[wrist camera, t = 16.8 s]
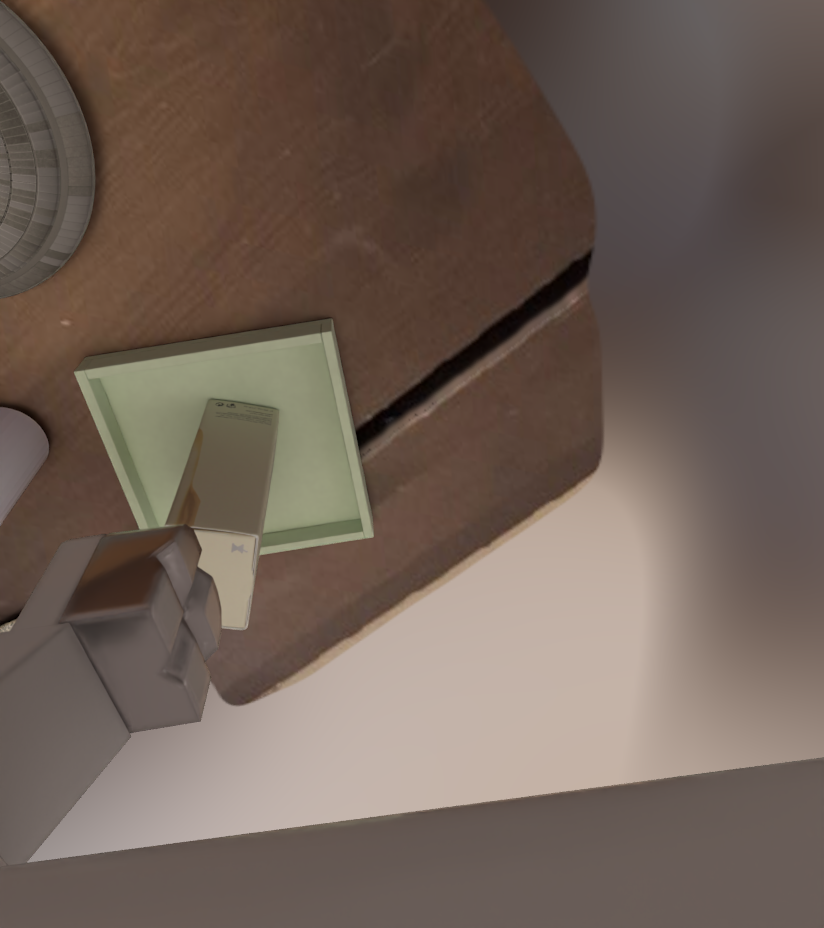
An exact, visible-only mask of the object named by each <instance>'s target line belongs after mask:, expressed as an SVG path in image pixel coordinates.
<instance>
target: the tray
mask: <svg viewBox="0 0 824 928" xmlns="http://www.w3.org/2000/svg"><path fill="white" fill-rule="evenodd" d="M74 374H75V376H76V379H77V381H78V383H79V386H80V388H81V391H82V393H83V395H84V398H85V400H86V403H87V405H88V407H89V410H90V412H91V415H92V417H93V419H94V422H95V424H96V426H97V429H98V431H99V434H100V436H101V438H102V441H103V443H104V446H105V448H106V450H107V453H108V455H109V457H110V460H111V462H112V465H113V467H114V469H115V472H116V474H117V477H118V479H119V481H120V484H121V486H122V488H123V491H124V493H125V496H126V498H127V500H128V503H129V505H130V508H131V510H132V512H133V515H134V517H135V520H136V522H137V524H138V527H139V529H148V528H156V527H164V525H165V523H166V520H167V518H168V515H169V512H170V509H171V506H172V503H173V501H174V498H175V495H176V492H177V489H178V486H179V484H180V481H181V478H182V475H183V472H184V469H185V466H186V463H187V460H188V457H189V454H190V451H191V448H192V446H193V443H194V440H195V437H196V434H197V431H198V428H199V425H200V422H201V419H202V416H203V413H204V410H205V408H206V405H207V402H208V400H220V401H229V402H236V403H242V404H249V405H255V406H260V407H266V408H271V409H277V410H279V423H278V434H277V443H276V451H275V459H274V465H273V473H272V478H271V485H270V491H269V498H268V504H267V510H266V516H265V523H264V529H263V535H262V541H261V548H260V554H259V555H263V554H269V553H275V552H282V551H288V550H295V549H301V548H307V547H314V546H320V545H327V544H333V543H339V542H346V541H352V540H359V539H364V538H372V537H374V532H373V517H372V512H371V507H370V502H369V497H368V492H367V487H366V483H365V478H364V473H363V468H362V463H361V458H360V453H359V448H358V443H357V438H356V433H355V428H354V423H353V418H352V414H351V409H350V404H349V399H348V394H347V389H346V384H345V379H344V374H343V369H342V364H341V359H340V354H339V349H338V344H337V340H336V335H335V330H334V325H333V320H332V319H331V318H330V319H324V320H318V321H311V322H305V323H299V324H292V325H286V326H280V327H273V328H267V329H261V330H254V331H248V332H242V333H235V334H229V335H223V336H216V337H210V338H204V339H197V340H191V341H185V342H178V343H172V344H165V345H159V346H153V347H146V348H140V349H134V350H127V351H121V352H115V353H108V354H102V355H96V356H89V357H85V358H84V360H83V361H82V362H81V363H80V365H79V366H78V367H77V368H76V370H75V371H74Z"/></svg>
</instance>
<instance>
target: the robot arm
mask: <svg viewBox="0 0 824 928" xmlns="http://www.w3.org/2000/svg"><path fill="white" fill-rule="evenodd" d="M201 552H202V548H201V546H200V543H199V541H198V538H197V536H196V534H195V531H194V529H193V528H191V527H190V526H188V525H187V524H180V525H172V526H164V527H156V528H148V529H140V530H132V531H124V532H116V533H109V534H100V535H93V536H86V537H80V538H73V539H70V540H67V541H65V542H63V543H61V545H60V546H59V548H58V550H57V551H56V553H55V555H54V556H53V558H52V560H51V562H50V563H49V565H48V567H47V568H46V570H45V572H44V574H43V575H42V577H41V579H40V580H39V582H38V584H37V586H36V587H35V589H34V591H33V592H32V594H31V596H30V598H29V599H28V601H27V603H26V604H25V606H24V608H23V610H22V611H21V613H20V615H19V616H18V618H17V620H16V622H15V623H14V625H13V627H12V628H11V630H10V631H6V632H0V928H824V758H816V759H809V760H801V761H793V762H785V763H778V764H770V765H763V766H755V767H749V768H740V769H733V770H725V771H718V772H710V773H702V774H695V775H687V776H680V777H673V778H664V779H657V780H649V781H642V782H634V783H627V784H619V785H612V786H604V787H596V788H589V789H581V790H574V791H566V792H559V793H551V794H544V795H536V796H529V797H521V798H514V799H506V800H498V801H491V802H483V803H477V804H469V805H461V806H453V807H445V808H438V809H430V810H423V811H416V812H408V813H400V814H392V815H386V816H378V817H370V818H362V819H355V820H347V821H340V822H333V823H325V824H317V825H309V826H302V827H294V828H287V829H279V830H272V831H265V832H257V833H249V834H241V835H234V836H226V837H219V838H212V839H204V840H197V841H189V842H181V843H173V844H166V845H158V846H151V847H144V848H136V849H129V850H121V851H113V852H105V853H98V854H91V855H83V856H76V857H68V858H60V859H54V860H45V861H38V862H30V863H27V861H28V860H29V859H30V858H31V857H32V855H33V854H34V853H35V852H36V851H37V849H38V848H39V847H40V846H41V845H42V843H43V842H44V841H45V840H46V839H47V837H48V836H49V835H50V834H51V832H52V831H53V830H54V829H55V827H56V826H57V825H58V824H59V823H60V822H61V820H62V819H63V818H64V817H65V816H66V814H67V813H68V812H69V811H70V810H71V808H72V807H73V806H74V805H75V804H76V802H77V801H78V800H79V799H80V798H81V796H82V795H83V794H84V793H85V792H86V790H87V789H88V788H89V787H90V786H91V784H92V783H93V782H94V781H95V780H96V778H97V777H98V776H99V775H100V773H101V772H102V771H103V770H104V769H105V767H106V766H107V765H108V764H109V763H110V762H111V760H112V759H113V758H114V757H115V755H116V754H117V753H118V752H119V751H120V750H121V748H122V747H123V746H124V745H125V743H126V742H127V741H128V740H129V739H130V738H131V735H130V733H133V732H139V731H145V730H151V729H158V728H164V727H170V726H176V725H181V724H187V723H194V722H200V721H201V718H202V713H203V709H204V705H205V701H206V697H207V693H208V689H209V685H210V680H211V675H210V672H209V670H208V668H207V665H206V663H205V661H206V660H207V659H208V658H209V657H210V656H211V655H212V654H213V653H214V652H215V651H216V650H217V649H218V646H219V641H220V637H221V632H222V609H221V604H220V599H219V594H218V590H217V587H216V585H215V582H214V579H213V577H212V576H211V575H209V574H208V573H207V572H205V571H204V570H202V569H201V568H199V567H198V563H199V559H200V556H201Z"/></svg>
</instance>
